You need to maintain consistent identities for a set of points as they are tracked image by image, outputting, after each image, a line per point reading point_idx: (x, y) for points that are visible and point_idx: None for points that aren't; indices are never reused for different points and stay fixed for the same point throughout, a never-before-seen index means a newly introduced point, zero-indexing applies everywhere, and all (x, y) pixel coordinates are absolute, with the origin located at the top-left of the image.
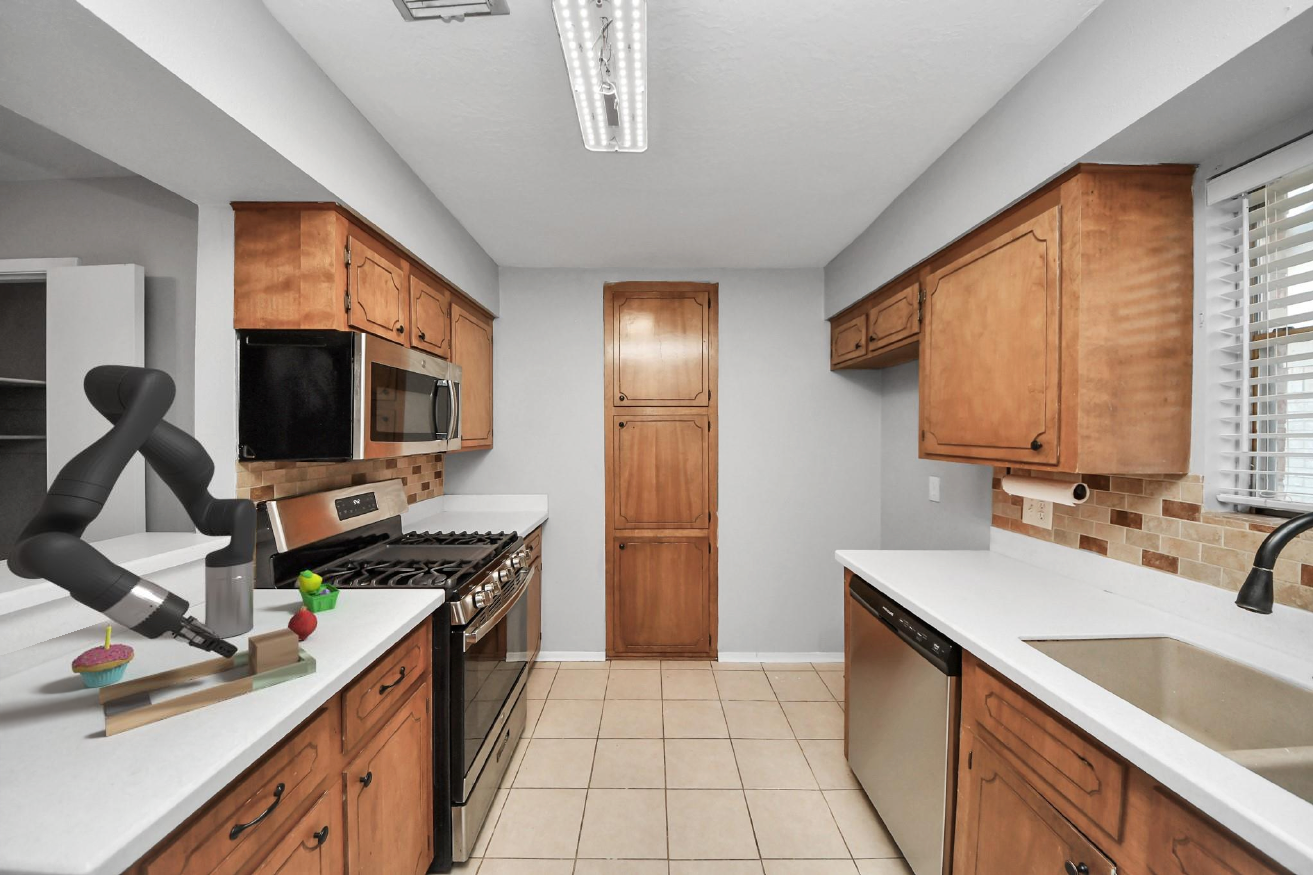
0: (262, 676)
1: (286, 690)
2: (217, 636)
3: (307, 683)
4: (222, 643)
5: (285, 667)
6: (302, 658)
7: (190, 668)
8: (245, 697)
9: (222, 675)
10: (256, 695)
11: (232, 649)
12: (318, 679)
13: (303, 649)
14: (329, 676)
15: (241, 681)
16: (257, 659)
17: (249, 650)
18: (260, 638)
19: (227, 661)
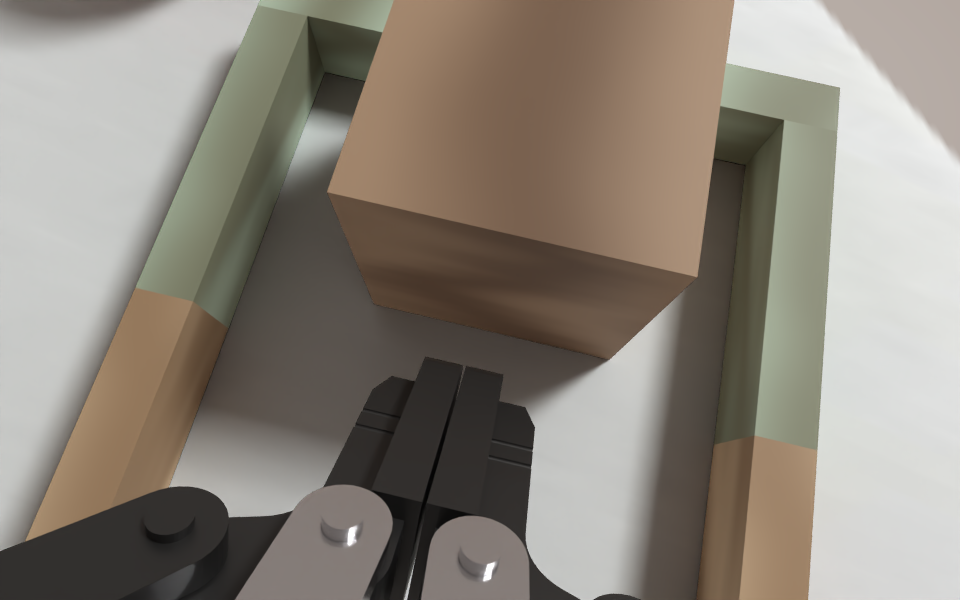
0: (816, 389)
1: (927, 347)
2: (430, 564)
3: (923, 240)
4: (517, 528)
5: (799, 239)
6: None
7: None
8: (822, 525)
9: (286, 426)
10: (849, 474)
11: (532, 433)
12: (917, 184)
13: None
14: (925, 136)
15: (808, 522)
16: (652, 315)
17: (389, 253)
18: (479, 154)
19: (189, 347)
